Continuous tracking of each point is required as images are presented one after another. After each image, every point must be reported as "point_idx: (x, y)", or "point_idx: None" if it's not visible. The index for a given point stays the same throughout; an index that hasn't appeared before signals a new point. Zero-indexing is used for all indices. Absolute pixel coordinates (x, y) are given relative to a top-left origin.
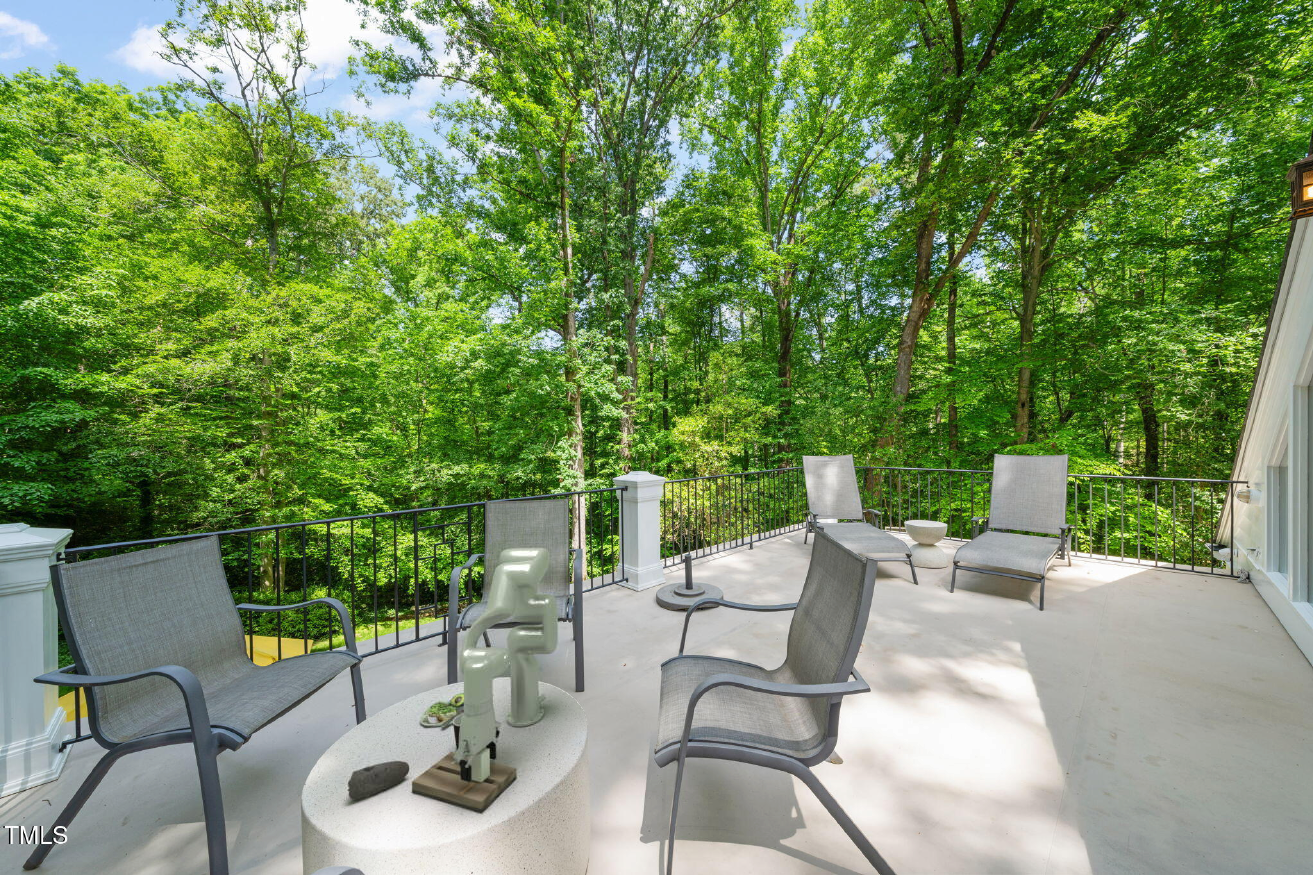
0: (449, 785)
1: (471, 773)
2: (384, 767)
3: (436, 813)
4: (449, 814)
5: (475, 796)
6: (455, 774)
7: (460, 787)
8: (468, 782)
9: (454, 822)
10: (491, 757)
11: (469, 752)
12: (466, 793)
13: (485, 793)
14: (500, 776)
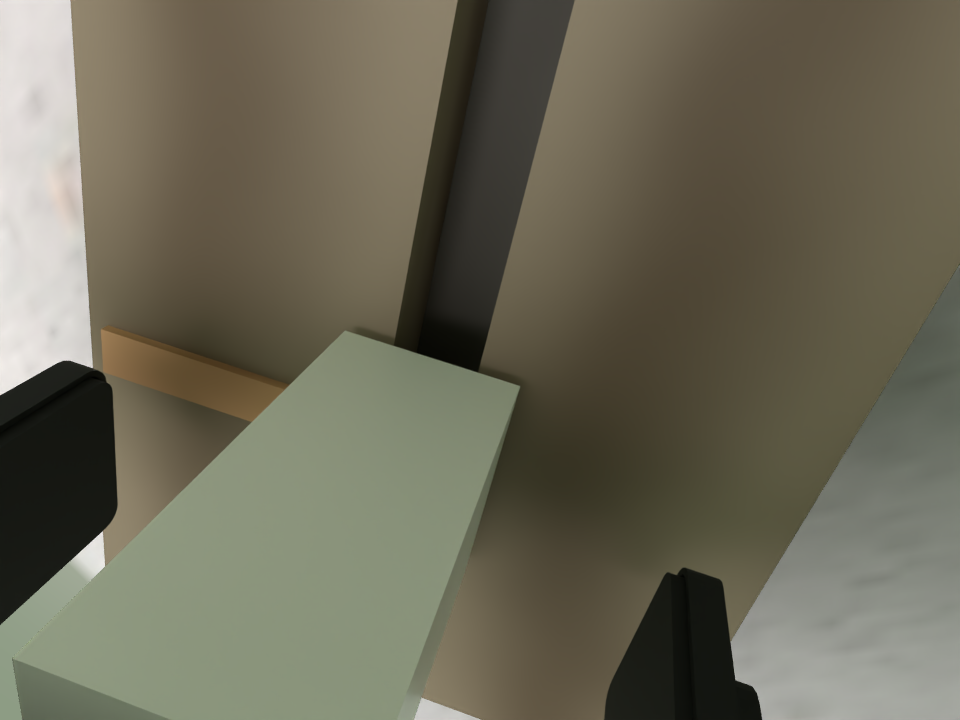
0: (187, 72)
1: (41, 585)
2: None
3: (30, 63)
4: (74, 226)
5: (141, 508)
6: (452, 3)
7: (203, 275)
8: (314, 340)
9: (26, 326)
10: (625, 676)
11: (32, 681)
12: (142, 400)
13: None
14: (482, 661)
